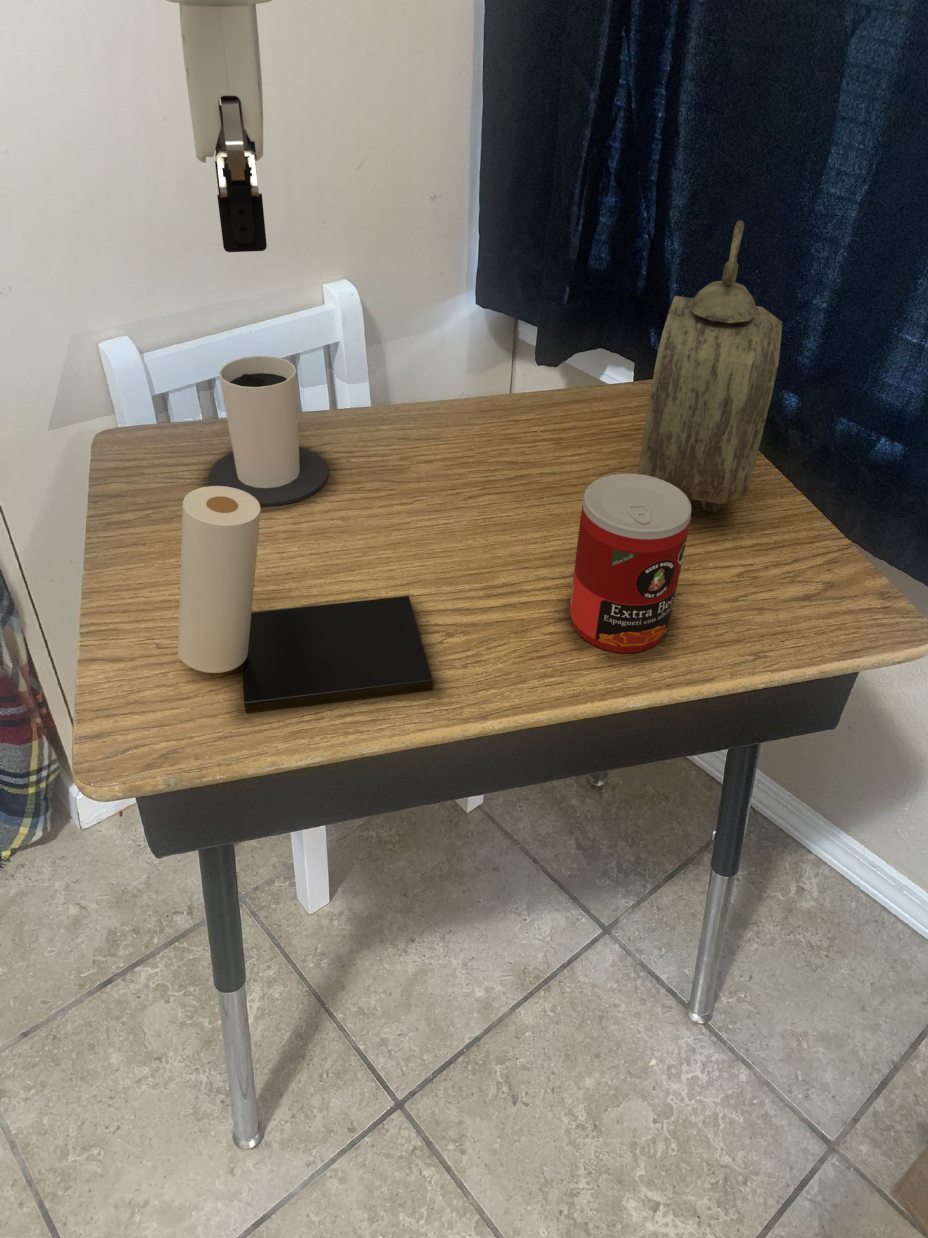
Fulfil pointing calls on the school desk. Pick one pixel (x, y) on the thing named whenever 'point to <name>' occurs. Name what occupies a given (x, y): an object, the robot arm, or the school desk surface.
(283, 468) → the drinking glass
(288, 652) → the thin black tile
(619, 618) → the canned food
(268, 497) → the coaster
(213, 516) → the towel roll
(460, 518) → the school desk surface
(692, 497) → the wooden cowbell
